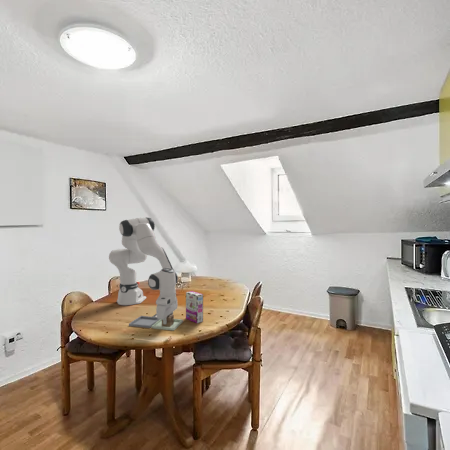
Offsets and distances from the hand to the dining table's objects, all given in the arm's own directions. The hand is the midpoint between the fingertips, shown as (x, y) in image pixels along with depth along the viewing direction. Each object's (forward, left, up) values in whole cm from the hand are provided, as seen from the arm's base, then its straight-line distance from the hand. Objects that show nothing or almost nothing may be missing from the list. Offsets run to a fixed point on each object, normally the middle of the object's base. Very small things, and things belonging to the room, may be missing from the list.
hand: (167, 321), depth 156 cm
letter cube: (0, 0, -2) cm, 2 cm away
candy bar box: (-11, +12, -2) cm, 16 cm away
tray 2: (0, 0, -2) cm, 2 cm away
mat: (-13, -10, -2) cm, 17 cm away
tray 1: (0, -14, -2) cm, 14 cm away
